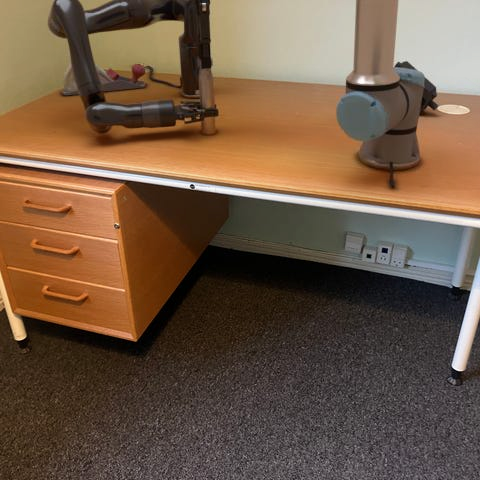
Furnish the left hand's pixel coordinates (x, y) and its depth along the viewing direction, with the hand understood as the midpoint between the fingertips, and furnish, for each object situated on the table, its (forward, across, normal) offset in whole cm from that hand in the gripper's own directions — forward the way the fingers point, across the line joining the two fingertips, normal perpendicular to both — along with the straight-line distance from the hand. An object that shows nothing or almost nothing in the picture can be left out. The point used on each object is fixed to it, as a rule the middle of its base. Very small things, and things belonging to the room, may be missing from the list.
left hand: (216, 109), depth 155 cm
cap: (-3, 0, -14) cm, 15 cm away
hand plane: (-35, +53, +7) cm, 64 cm away
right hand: (-3, 0, -13) cm, 13 cm away
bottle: (-3, 0, +7) cm, 7 cm away
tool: (+62, +6, +7) cm, 62 cm away
